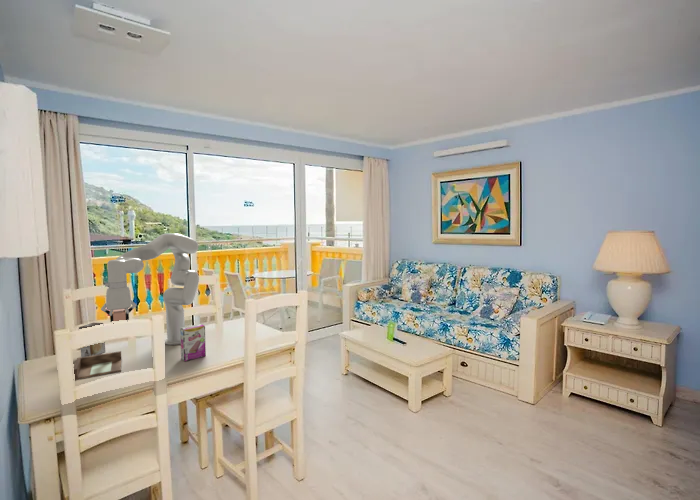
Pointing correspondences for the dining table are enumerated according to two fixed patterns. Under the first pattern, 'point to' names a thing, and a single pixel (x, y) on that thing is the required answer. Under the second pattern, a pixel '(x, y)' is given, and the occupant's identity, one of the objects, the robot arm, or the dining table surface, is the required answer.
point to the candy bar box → (192, 342)
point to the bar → (119, 314)
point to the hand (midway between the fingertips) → (119, 321)
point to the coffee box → (92, 349)
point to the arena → (97, 365)
